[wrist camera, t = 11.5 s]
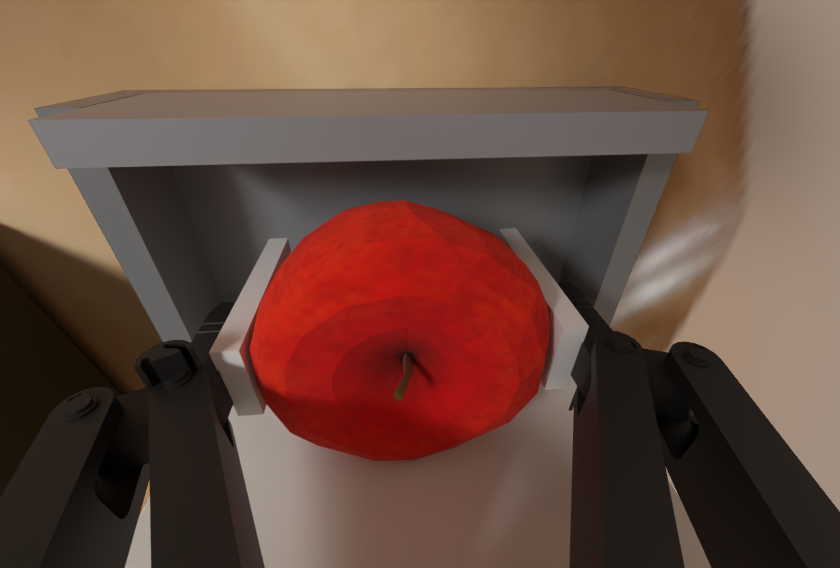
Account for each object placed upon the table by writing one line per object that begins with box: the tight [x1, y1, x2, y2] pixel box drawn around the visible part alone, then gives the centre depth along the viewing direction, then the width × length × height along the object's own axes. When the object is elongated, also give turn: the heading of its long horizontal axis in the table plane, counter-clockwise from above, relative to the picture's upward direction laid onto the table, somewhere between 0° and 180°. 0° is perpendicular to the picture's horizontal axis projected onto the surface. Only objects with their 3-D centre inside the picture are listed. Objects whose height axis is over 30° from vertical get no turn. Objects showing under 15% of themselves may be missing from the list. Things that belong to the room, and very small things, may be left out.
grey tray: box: [28, 87, 709, 343], centre depth 18 cm, size 20×21×7 cm
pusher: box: [125, 376, 711, 568], centre depth 16 cm, size 6×17×13 cm, turn 90°
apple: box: [250, 200, 550, 461], centre depth 13 cm, size 9×9×8 cm
